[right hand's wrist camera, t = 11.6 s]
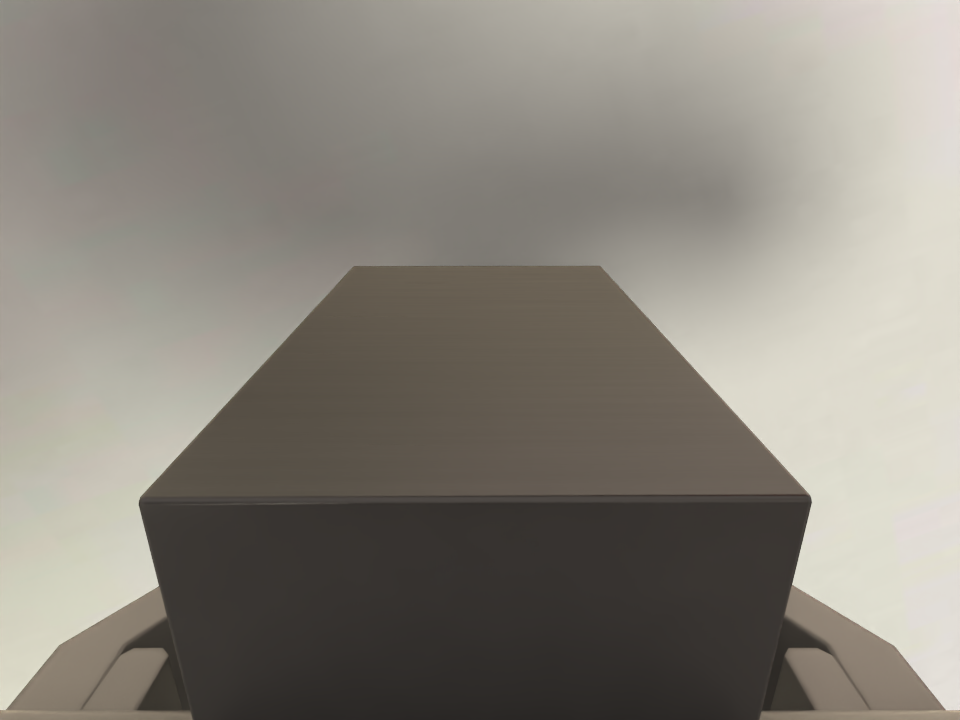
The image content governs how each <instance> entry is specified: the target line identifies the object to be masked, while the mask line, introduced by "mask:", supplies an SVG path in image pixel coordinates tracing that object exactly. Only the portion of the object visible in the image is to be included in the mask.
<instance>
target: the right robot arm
mask: <svg viewBox="0 0 960 720" xmlns="http://www.w3.org/2000/svg"><path fill="white" fill-rule="evenodd" d="M0 720H193V719H192V715H191V711H190V707H189V703H188V699H187V695H186V691H185V687H184V683H183V679H182V675H181V671H180V667H179V663H178V659H177V655H176V651H175V647H174V643H173V639H172V635H171V631H170V627H169V623H168V619H167V615H166V611H165V607H164V603H163V599H162V595H161V591H160V587H157V588H155V589H154V590H152V591H150V592H149V593H147V594H145V595H144V596H142V597H140V598H139V599H137V600H135V601H133V602H132V603H130V604H128V605H127V606H125V607H123V608H122V609H120V610H118V611H117V612H115V613H113V614H111V615H110V616H108V617H106V618H105V619H103V620H101V621H100V622H98V623H96V624H95V625H93V626H91V627H90V628H88V629H86V630H84V631H83V632H81V633H79V634H78V635H76V636H74V637H73V638H71V639H69V640H68V641H66V642H64V643H62V644H61V645H59V646H58V648H57V649H56V650H55V651H54V652H53V654H52V655H51V656H50V657H49V658H48V660H47V661H46V662H45V663H44V665H43V666H42V667H41V668H40V669H39V671H38V672H37V673H36V674H35V675H34V677H33V678H32V679H31V680H30V682H29V683H28V684H27V685H26V686H25V688H24V689H23V690H22V691H21V692H20V694H19V695H18V696H17V697H16V699H15V700H14V701H13V702H12V703H11V705H10V706H9V707H8V708H7V709H6V710H0ZM759 720H960V710H945V709H944V707H943V706H942V705H941V704H940V702H939V701H938V700H937V699H936V697H935V696H934V695H933V694H932V692H931V691H930V690H929V689H928V687H927V686H926V685H925V684H924V682H923V681H922V680H921V679H920V677H919V676H918V675H917V674H916V672H915V671H914V670H913V669H912V667H911V666H910V665H909V664H908V662H907V661H906V660H905V659H904V658H903V656H902V655H901V654H900V653H899V651H898V650H897V649H896V648H895V646H893V645H891V644H890V643H888V642H886V641H885V640H883V639H881V638H880V637H878V636H876V635H875V634H873V633H871V632H870V631H868V630H866V629H865V628H863V627H861V626H860V625H858V624H856V623H855V622H853V621H851V620H850V619H848V618H846V617H845V616H843V615H841V614H840V613H838V612H836V611H835V610H833V609H831V608H830V607H828V606H826V605H825V604H823V603H821V602H820V601H818V600H816V599H815V598H813V597H811V596H810V595H808V594H806V593H805V592H803V591H801V590H800V589H798V588H796V587H795V586H793V585H792V586H791V590H790V595H789V599H788V603H787V607H786V611H785V615H784V620H783V624H782V628H781V632H780V636H779V640H778V644H777V649H776V653H775V657H774V661H773V665H772V669H771V674H770V678H769V682H768V686H767V690H766V694H765V698H764V703H763V707H762V711H761V715H760V719H759Z"/></svg>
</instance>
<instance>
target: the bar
mask: <svg viewBox="0 0 960 720" xmlns="http://www.w3.org/2000/svg"><path fill="white" fill-rule="evenodd" d="M811 503H812V501H811V497H810V495H809V494H808V493H807V491H806V490H805V489H804V488H803V487H802V486H801V485H800V484H799V483H798V482H797V481H796V479H795V478H794V477H793V476H792V475H791V474H790V473H789V472H788V471H787V470H786V469H785V467H784V466H783V465H782V464H781V463H780V462H779V461H778V460H777V459H776V458H775V457H774V455H773V454H772V453H771V452H770V451H769V450H768V449H767V448H766V447H765V446H764V444H763V443H762V442H761V441H760V440H759V439H758V438H757V437H756V436H755V435H754V434H753V432H752V431H751V430H750V429H749V428H748V427H747V426H746V425H745V424H744V423H743V422H742V420H741V419H740V418H739V417H738V416H737V415H736V414H735V413H734V412H733V411H732V410H731V408H730V407H729V406H728V405H727V404H726V403H725V402H724V401H723V400H722V399H721V397H720V396H719V395H718V394H717V393H716V392H715V391H714V390H713V389H712V388H711V387H710V385H709V384H708V383H707V382H706V381H705V380H704V379H703V378H702V377H701V376H700V375H699V373H698V372H697V371H696V370H695V369H694V368H693V367H692V366H691V365H690V364H689V363H688V361H687V360H686V359H685V358H684V357H683V356H682V355H681V354H680V353H679V352H678V350H677V349H676V348H675V347H674V346H673V345H672V344H671V343H670V342H669V341H668V340H667V338H666V337H665V336H664V335H663V334H662V333H661V332H660V331H659V330H658V329H657V328H656V326H655V325H654V324H653V323H652V322H651V321H650V320H649V319H648V318H647V317H646V316H645V314H644V313H643V312H642V311H641V310H640V309H639V308H638V307H637V306H636V305H635V304H634V302H633V301H632V300H631V299H630V298H629V297H628V296H627V295H626V294H625V293H624V291H623V290H622V289H621V288H620V287H619V286H618V285H617V284H616V283H615V282H614V281H613V279H612V278H611V277H610V276H609V275H608V274H607V273H606V272H605V271H604V270H603V269H602V267H600V266H354V267H353V268H352V269H351V270H350V271H349V272H348V273H347V274H346V275H345V276H344V277H343V278H342V280H341V281H340V282H339V283H338V284H337V285H336V286H335V287H334V288H333V289H332V290H331V291H330V293H329V294H328V295H327V296H326V297H325V298H324V299H323V300H322V301H321V302H320V303H319V304H318V306H317V307H316V308H315V309H314V310H313V311H312V312H311V313H310V314H309V315H308V316H307V317H306V319H305V320H304V321H303V322H302V323H301V324H300V325H299V326H298V327H297V328H296V329H295V330H294V332H293V333H292V334H291V335H290V336H289V337H288V338H287V339H286V340H285V341H284V342H283V343H282V345H281V346H280V347H279V348H278V349H277V350H276V351H275V352H274V353H273V354H272V355H271V356H270V358H269V359H268V360H267V361H266V362H265V363H264V364H263V365H262V366H261V367H260V368H259V369H258V371H257V372H256V373H255V374H254V375H253V376H252V377H251V378H250V379H249V380H248V381H247V382H246V383H245V385H244V386H243V387H242V388H241V389H240V390H239V391H238V392H237V393H236V394H235V395H234V396H233V398H232V399H231V400H230V401H229V402H228V403H227V404H226V405H225V406H224V407H223V408H222V409H221V411H220V412H219V413H218V414H217V415H216V416H215V417H214V418H213V419H212V420H211V421H210V422H209V424H208V425H207V426H206V427H205V428H204V429H203V430H202V431H201V432H200V433H199V434H198V435H197V437H196V438H195V439H194V440H193V441H192V442H191V443H190V444H189V445H188V446H187V447H186V448H185V450H184V451H183V452H182V453H181V454H180V455H179V456H178V457H177V458H176V459H175V460H174V461H173V463H172V464H171V465H170V466H169V467H168V468H167V469H166V470H165V471H164V472H163V473H162V474H161V476H160V477H159V478H158V479H157V480H156V481H155V482H154V483H153V484H152V485H151V486H150V487H149V489H148V490H147V491H146V492H145V493H144V494H143V495H142V496H141V497H140V500H139V507H140V511H141V515H142V519H143V523H144V527H145V531H146V535H147V539H148V543H149V547H150V551H151V555H152V559H153V563H154V567H155V571H156V575H157V579H158V583H159V587H160V591H161V595H162V599H163V603H164V607H165V611H166V615H167V619H168V623H169V627H170V631H171V635H172V639H173V643H174V647H175V651H176V655H177V659H178V663H179V667H180V671H181V675H182V679H183V683H184V687H185V691H186V695H187V699H188V703H189V707H190V711H191V715H192V719H193V720H759V719H760V715H761V711H762V707H763V703H764V698H765V694H766V690H767V686H768V682H769V678H770V674H771V669H772V665H773V661H774V657H775V653H776V649H777V644H778V640H779V636H780V632H781V628H782V624H783V620H784V615H785V611H786V607H787V603H788V599H789V595H790V590H791V586H792V582H793V578H794V574H795V570H796V566H797V561H798V557H799V553H800V549H801V545H802V541H803V537H804V532H805V528H806V524H807V520H808V516H809V512H810V507H811Z"/></svg>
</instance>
